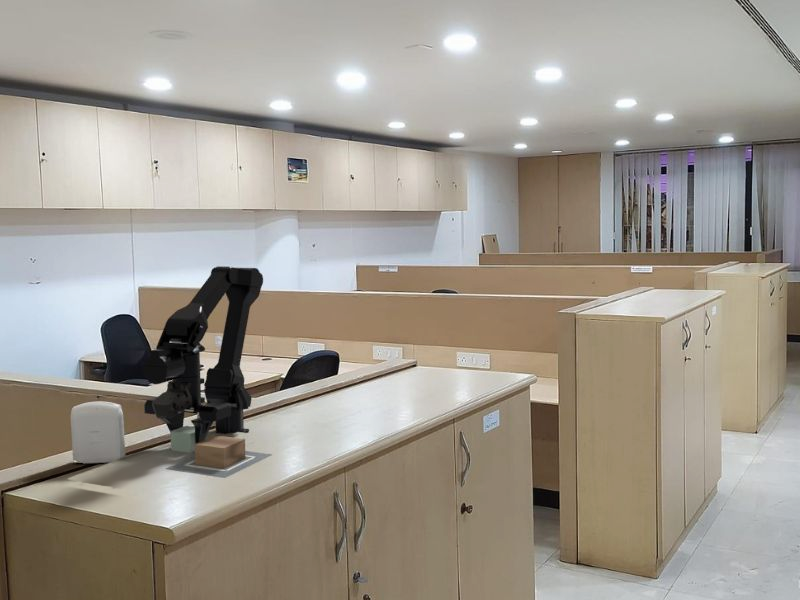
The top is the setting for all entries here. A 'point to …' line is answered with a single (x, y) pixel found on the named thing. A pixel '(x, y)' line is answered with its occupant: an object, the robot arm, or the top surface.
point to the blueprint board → (219, 472)
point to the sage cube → (183, 439)
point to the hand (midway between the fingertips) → (188, 448)
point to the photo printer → (97, 432)
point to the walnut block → (220, 451)
